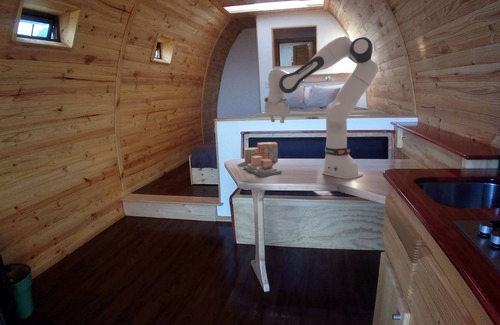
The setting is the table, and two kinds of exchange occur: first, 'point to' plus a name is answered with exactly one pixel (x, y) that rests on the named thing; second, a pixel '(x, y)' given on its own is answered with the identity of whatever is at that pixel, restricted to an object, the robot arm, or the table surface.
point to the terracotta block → (265, 164)
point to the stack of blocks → (262, 151)
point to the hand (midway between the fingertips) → (277, 122)
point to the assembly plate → (255, 167)
